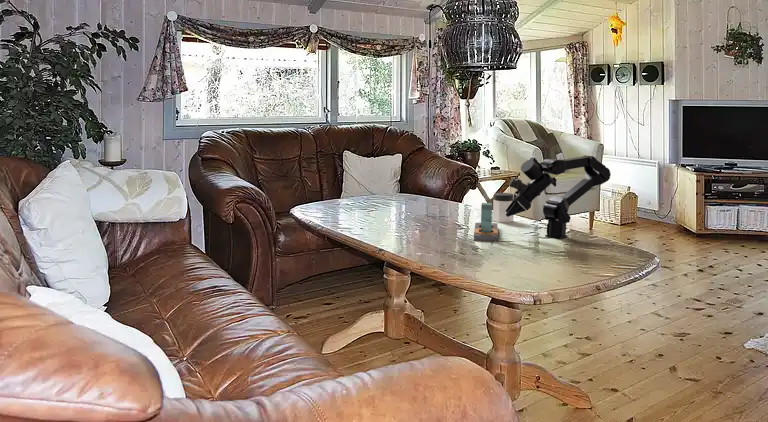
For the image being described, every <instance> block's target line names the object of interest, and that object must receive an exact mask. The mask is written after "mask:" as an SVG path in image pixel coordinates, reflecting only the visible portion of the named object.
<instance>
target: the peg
mask: <svg viewBox="0 0 768 422" xmlns="http://www.w3.org/2000/svg"><path fill="white" fill-rule="evenodd" d="M480 208H481V210H480V213H481V214H480V223H481V232H491V227H492V223H493V203H492V202H481V207H480Z"/></svg>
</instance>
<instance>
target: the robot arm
mask: <svg viewBox="0 0 768 422" xmlns="http://www.w3.org/2000/svg"><path fill="white" fill-rule="evenodd" d="M579 168H580V169H581V168H583V170H584V172H585V175H584V178H583V179H581V180H580V181H578V183H576V184H575V185H574V186H573V187H571V188H570V189H569V190H568V191H566V192H565V193H564V194H563V195H561V196H560V197H559V196H555V195H554V196H551V197H550V198H549V199H548V200H546V201H545V204H543V206H542V207H543V208H542V213H543V217H544V218H545V219H544V220H545V221H547V224H546V234H545V235H544V236H545V237H548V238H553V239H558V240H559V239H563V238H568V237H567V236H568V235H569V234H567V224H568V223H570V220H571V216H570V215H569V213H568V212H569V209H570V206H571V205H572V204H575V202H576V201H577V200H579V199H580V198H581V197H583V196H584V195H585V194H586V193H588V192H589V191H590V190H591V189H593V188H594V187H596V186H601V185H603V184H605V183H606V182H608V181H610V179H611V170H610V169H609V168H608V167H606V165H605V164H604V163H602V162H600V161H599V160H598V159H597V158H596V157H595V156H594V155H586V154H585V155H582V156H576V157H571V158H565V159H557V158H544V159H543V161H542V162H539V161H538V160H537V158H536V157H531V156H530V158H529V159H527V160H526V161H525V162H523V163H522V164H521V166H520V171H521V172H522V173H523V174H524V175H525V176H526V177H527V178H528V179H529V180H531V181H528V182H527V183H524V182H523V181H522V179H520V178H515V177H512V178H511V180H510V182H509V184H508V186H509V187H510V188H514V189H515V191H514V193H513V201H512V202H511V204H510V205H509V207H508V208H507V209H506V212H507V214H506V216H507V217H509V216H512V215H517V214H520V213H523V212H526V211H528V210H530V209H532V203H533V201H534V200H535V199H537V197H540V195H541V193H543V192H544V191H545V190H546V189H547V188H549V187H550V186H551V184H552V185H553V187H554V188H555V187H557V178H556V177H554V176H553V177H552V176H551V175H556V176H558V175H561V174H563V173H565V172H566V171H568V170H575V169H579Z"/></svg>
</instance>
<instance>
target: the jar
mask: <svg viewBox="0 0 768 422" xmlns="http://www.w3.org/2000/svg"><path fill="white" fill-rule="evenodd" d="M513 199H514V193H511V192H496V193H494V199H493V203H492V222H496V223H499V224H500V223H505V224H506V223H507V224H508V223H511V222H514V215H515V214H514V215H512V216H509V217H507V216H506V214H507V212H506V209H507V208H508V207H509V205H510V204H511V202H512V201H513Z"/></svg>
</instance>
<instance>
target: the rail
mask: <svg viewBox="0 0 768 422" xmlns="http://www.w3.org/2000/svg"><path fill="white" fill-rule="evenodd" d="M474 224H475V225H474V232H473V241H476V242H499V233H498V232H499V231H498V230H499V229H498V222H496V223H495V222H492V227H491V232H481V222H475V223H474Z"/></svg>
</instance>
